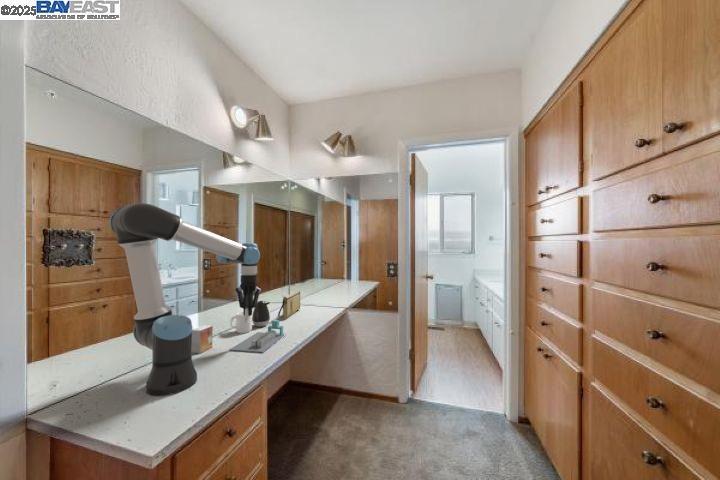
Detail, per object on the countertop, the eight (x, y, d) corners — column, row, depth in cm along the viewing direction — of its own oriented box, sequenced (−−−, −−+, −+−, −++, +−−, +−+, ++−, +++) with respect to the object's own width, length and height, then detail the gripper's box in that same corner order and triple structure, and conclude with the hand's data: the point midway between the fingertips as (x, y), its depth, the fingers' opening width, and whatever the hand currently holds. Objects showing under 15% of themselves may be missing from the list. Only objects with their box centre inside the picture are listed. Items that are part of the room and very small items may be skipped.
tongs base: (272, 335, 151) (272, 330, 151) (277, 335, 151) (277, 330, 151) (254, 347, 134) (254, 341, 134) (261, 348, 133) (261, 341, 133)
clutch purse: (292, 309, 214) (292, 289, 214) (301, 310, 213) (301, 290, 213) (275, 320, 184) (275, 297, 184) (285, 320, 183) (285, 297, 183)
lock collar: (269, 333, 155) (269, 319, 155) (283, 333, 154) (283, 320, 154) (267, 334, 153) (267, 320, 153) (281, 335, 152) (281, 321, 152)
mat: (263, 353, 129) (263, 351, 129) (229, 350, 131) (229, 349, 131) (286, 334, 154) (286, 333, 154) (257, 333, 157) (257, 332, 157)
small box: (200, 353, 128) (200, 330, 128) (189, 352, 129) (189, 329, 129) (212, 347, 136) (213, 325, 136) (202, 346, 137) (202, 324, 137)
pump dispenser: (266, 328, 167) (266, 302, 167) (249, 328, 167) (249, 302, 167) (272, 323, 177) (272, 299, 177) (255, 323, 177) (256, 299, 177)
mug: (226, 333, 157) (226, 315, 157) (233, 329, 165) (233, 311, 165) (248, 333, 157) (248, 315, 157) (254, 329, 165) (254, 311, 165)
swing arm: (267, 336, 149) (267, 331, 149) (270, 337, 148) (270, 331, 149) (251, 347, 134) (251, 341, 134) (255, 347, 134) (255, 341, 134)
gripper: (264, 274, 143) (263, 321, 142) (241, 273, 145) (239, 319, 144) (257, 275, 135) (255, 324, 134) (232, 274, 137) (230, 323, 137)
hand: (247, 322), depth 139 cm, fingers closed
